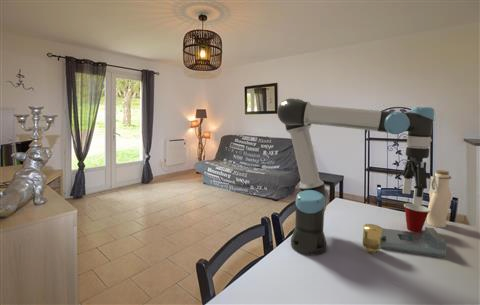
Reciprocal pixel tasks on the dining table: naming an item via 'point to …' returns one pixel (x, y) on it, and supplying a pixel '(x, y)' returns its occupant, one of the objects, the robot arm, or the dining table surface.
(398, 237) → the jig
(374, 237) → the golden knob
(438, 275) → the dining table surface
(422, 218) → the plastic cup
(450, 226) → the dining table surface
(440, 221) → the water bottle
